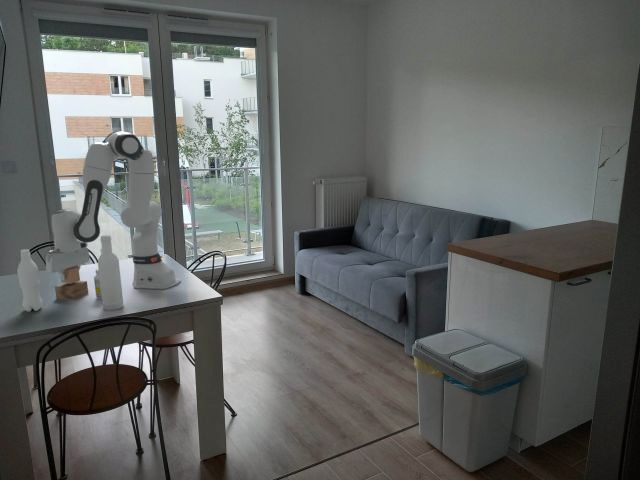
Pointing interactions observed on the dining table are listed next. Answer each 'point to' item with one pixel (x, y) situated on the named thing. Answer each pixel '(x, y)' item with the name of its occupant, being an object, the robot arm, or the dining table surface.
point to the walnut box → (71, 290)
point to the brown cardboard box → (71, 275)
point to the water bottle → (29, 282)
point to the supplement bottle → (97, 285)
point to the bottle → (109, 276)
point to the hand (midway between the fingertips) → (70, 277)
